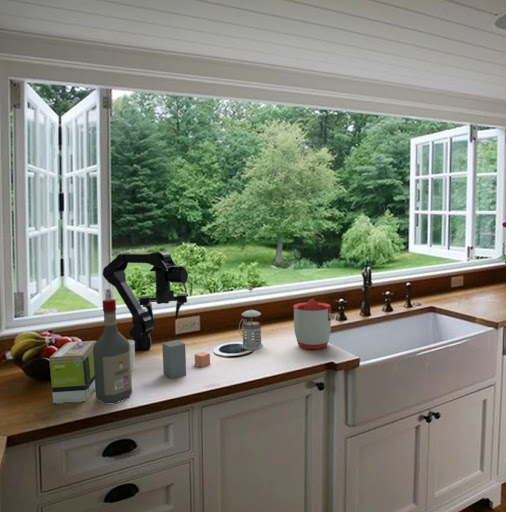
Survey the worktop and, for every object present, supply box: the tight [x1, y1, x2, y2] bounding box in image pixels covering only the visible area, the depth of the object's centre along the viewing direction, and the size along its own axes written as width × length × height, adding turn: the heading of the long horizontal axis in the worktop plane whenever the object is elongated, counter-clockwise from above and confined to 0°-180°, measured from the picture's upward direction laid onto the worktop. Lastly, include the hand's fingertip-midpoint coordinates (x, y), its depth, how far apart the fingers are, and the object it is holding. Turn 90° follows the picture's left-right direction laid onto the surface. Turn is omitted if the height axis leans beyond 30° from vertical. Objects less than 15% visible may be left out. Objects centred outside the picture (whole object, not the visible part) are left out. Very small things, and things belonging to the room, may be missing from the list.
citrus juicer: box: [292, 298, 336, 350], centre depth 173 cm, size 16×17×20 cm
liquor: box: [93, 298, 133, 404], centre depth 126 cm, size 9×9×30 cm
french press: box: [238, 286, 265, 350], centre depth 174 cm, size 10×12×25 cm
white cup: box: [127, 339, 136, 372], centre depth 151 cm, size 8×8×10 cm
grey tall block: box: [161, 339, 187, 379], centre depth 145 cm, size 6×6×11 cm
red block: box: [194, 351, 211, 368], centre depth 155 cm, size 4×4×4 cm
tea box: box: [49, 340, 97, 404], centre depth 131 cm, size 15×10×15 cm, turn 5°
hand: (164, 320), depth 170 cm, fingers open, 9 cm apart
